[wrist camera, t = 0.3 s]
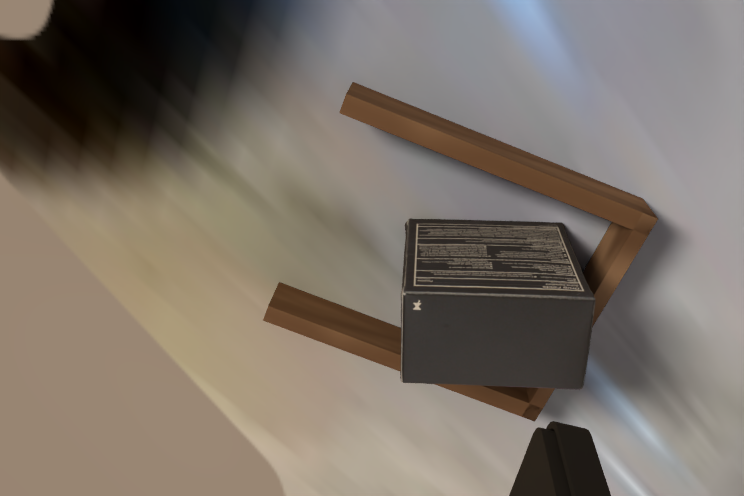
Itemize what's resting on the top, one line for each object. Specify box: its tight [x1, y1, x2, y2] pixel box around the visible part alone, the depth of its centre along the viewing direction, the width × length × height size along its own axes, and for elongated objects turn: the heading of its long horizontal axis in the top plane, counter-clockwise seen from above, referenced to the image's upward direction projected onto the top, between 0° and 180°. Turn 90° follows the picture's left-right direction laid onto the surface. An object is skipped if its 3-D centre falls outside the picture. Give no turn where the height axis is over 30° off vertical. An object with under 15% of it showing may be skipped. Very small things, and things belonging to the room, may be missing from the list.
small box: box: [400, 219, 596, 390], centre depth 44 cm, size 11×6×10 cm, turn 90°
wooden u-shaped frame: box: [263, 82, 658, 421], centre depth 47 cm, size 16×20×4 cm
